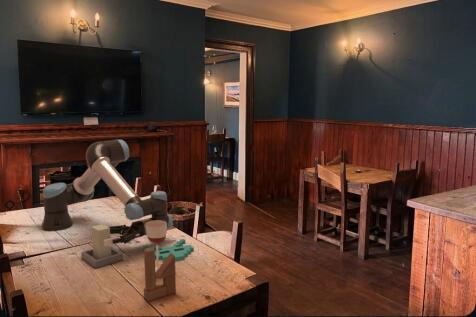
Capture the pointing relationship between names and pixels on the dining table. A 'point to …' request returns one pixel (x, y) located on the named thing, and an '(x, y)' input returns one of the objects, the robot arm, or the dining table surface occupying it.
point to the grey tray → (114, 258)
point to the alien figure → (173, 251)
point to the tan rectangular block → (100, 241)
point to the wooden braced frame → (158, 276)
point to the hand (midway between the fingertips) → (97, 239)
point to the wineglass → (156, 234)
